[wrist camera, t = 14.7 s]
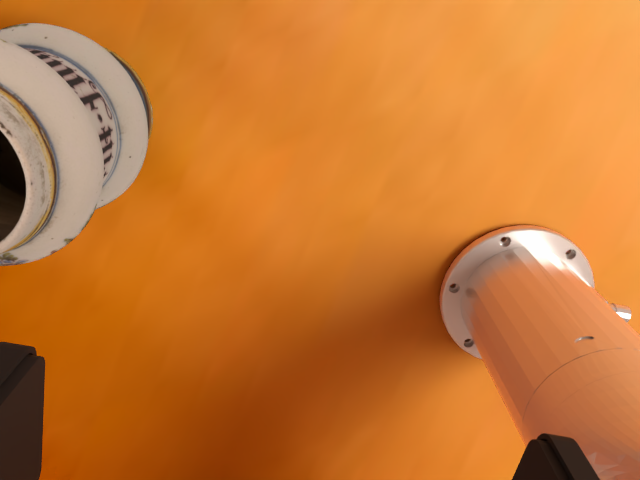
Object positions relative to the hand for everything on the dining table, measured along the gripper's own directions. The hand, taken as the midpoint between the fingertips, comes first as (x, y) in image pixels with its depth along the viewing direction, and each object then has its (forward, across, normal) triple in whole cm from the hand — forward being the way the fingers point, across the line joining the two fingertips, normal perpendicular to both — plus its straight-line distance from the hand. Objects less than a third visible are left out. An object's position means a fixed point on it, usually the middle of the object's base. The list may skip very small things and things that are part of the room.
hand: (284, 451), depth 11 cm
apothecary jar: (+33, +16, +2) cm, 37 cm away
